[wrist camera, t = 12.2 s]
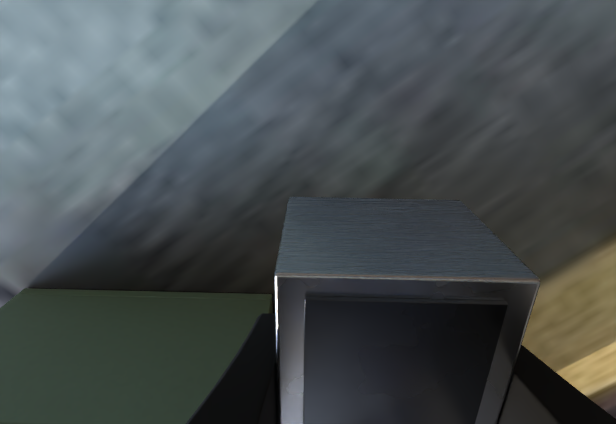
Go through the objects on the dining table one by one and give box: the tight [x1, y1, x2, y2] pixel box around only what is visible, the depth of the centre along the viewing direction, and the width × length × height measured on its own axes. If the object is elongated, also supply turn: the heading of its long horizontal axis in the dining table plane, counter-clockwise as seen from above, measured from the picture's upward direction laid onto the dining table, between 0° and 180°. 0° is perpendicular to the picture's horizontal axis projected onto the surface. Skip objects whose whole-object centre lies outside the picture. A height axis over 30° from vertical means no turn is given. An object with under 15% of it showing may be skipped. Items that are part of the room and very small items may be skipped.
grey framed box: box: [274, 197, 540, 424], centre depth 9 cm, size 4×7×4 cm, turn 179°
